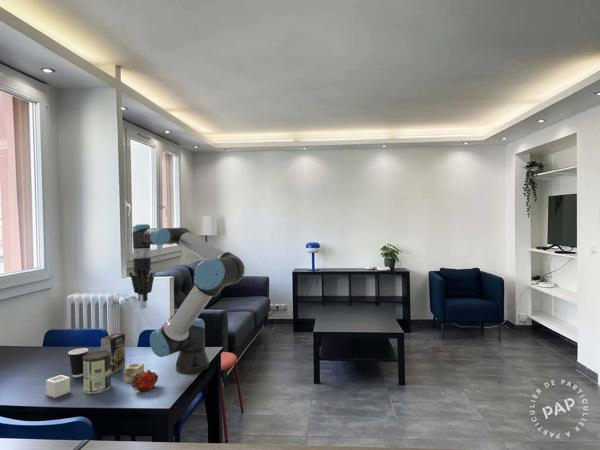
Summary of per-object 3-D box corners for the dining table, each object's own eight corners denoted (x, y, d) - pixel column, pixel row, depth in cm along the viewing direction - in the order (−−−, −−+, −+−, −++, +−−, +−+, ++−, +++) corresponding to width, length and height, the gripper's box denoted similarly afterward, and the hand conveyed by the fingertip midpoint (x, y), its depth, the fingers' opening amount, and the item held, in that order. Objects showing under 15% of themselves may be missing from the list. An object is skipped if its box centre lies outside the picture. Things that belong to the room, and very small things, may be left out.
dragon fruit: (129, 399, 151) (155, 392, 161) (141, 390, 148) (167, 383, 158) (124, 378, 155) (149, 373, 165) (135, 369, 152) (161, 364, 162)
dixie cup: (65, 375, 172) (65, 351, 172) (84, 370, 178) (84, 346, 178) (72, 380, 167) (72, 355, 167) (91, 374, 173) (91, 350, 173)
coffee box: (113, 374, 173) (112, 339, 173) (100, 373, 174) (100, 338, 174) (126, 367, 182) (125, 333, 182) (114, 366, 183) (113, 332, 183)
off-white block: (69, 391, 155) (69, 376, 155) (54, 398, 150) (54, 382, 150) (61, 389, 158) (60, 374, 158) (45, 395, 153) (45, 379, 153)
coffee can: (102, 381, 165) (102, 349, 165) (116, 386, 160) (115, 353, 160) (78, 390, 157) (77, 356, 157) (91, 396, 151) (91, 360, 151)
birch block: (143, 376, 170) (143, 363, 170) (137, 382, 164) (137, 368, 164) (130, 376, 170) (130, 363, 170) (123, 382, 164) (123, 368, 164)
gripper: (124, 258, 175) (125, 309, 175) (148, 258, 172) (150, 310, 172) (135, 256, 183) (136, 306, 183) (159, 256, 179) (160, 306, 179)
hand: (143, 308), depth 177 cm, fingers closed
